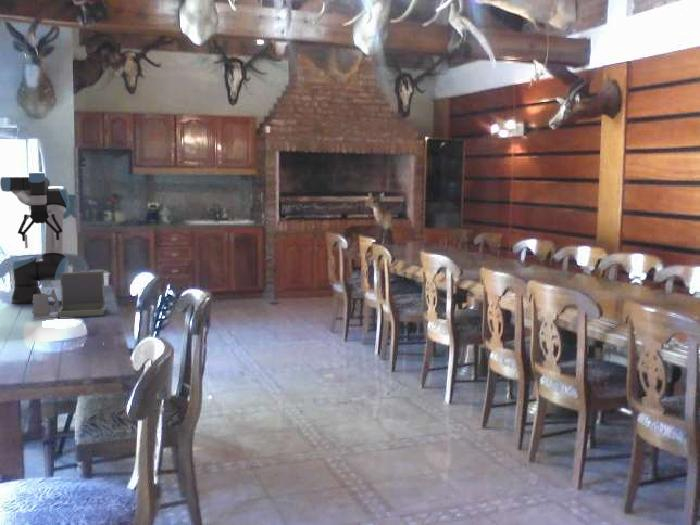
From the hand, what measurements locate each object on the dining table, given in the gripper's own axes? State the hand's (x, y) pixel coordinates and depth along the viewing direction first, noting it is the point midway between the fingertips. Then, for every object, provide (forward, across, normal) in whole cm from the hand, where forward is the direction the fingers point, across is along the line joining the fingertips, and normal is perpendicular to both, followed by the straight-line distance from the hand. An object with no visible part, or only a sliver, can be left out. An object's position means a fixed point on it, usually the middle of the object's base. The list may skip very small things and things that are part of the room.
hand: (41, 247), depth 365 cm
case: (+31, +19, -18) cm, 40 cm away
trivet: (+31, +3, -19) cm, 36 cm away
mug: (+30, +2, -19) cm, 36 cm away
